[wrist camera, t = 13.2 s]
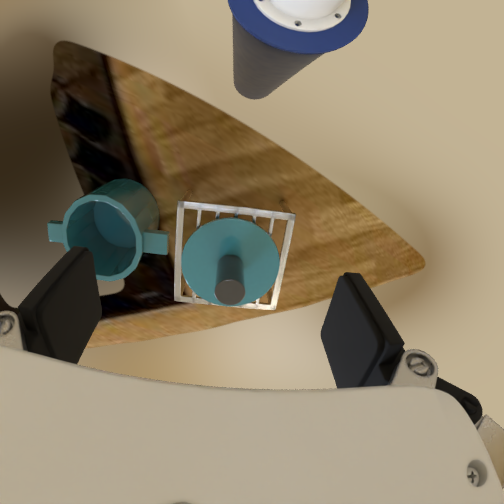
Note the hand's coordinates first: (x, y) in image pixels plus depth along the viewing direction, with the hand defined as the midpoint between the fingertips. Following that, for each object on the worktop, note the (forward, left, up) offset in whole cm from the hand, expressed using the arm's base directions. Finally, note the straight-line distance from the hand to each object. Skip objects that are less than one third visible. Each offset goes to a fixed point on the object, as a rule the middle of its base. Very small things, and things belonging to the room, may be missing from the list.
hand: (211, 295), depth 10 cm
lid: (+10, +2, -21) cm, 23 cm away
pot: (+7, -14, -28) cm, 32 cm away
